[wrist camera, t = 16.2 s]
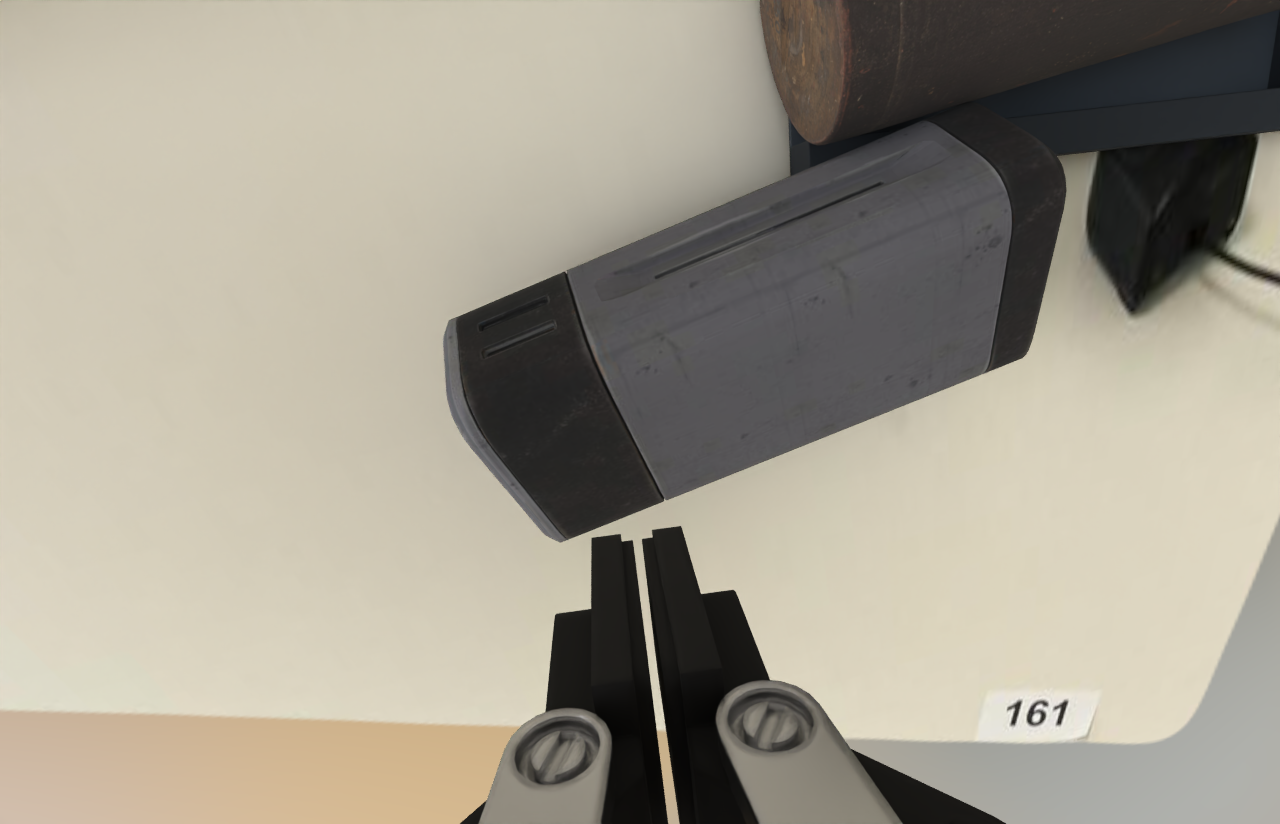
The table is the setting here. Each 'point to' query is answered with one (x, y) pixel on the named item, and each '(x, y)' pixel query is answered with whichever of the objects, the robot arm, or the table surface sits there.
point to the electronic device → (761, 322)
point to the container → (953, 50)
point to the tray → (1132, 97)
